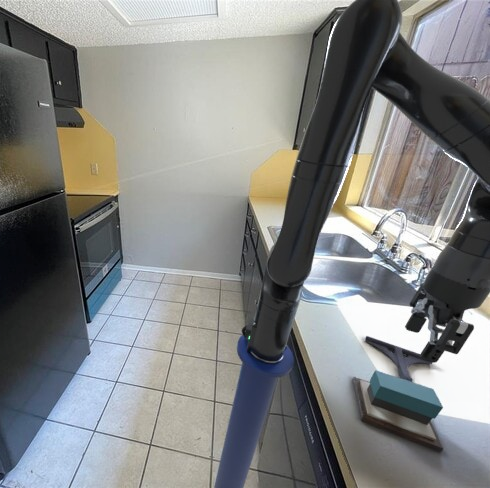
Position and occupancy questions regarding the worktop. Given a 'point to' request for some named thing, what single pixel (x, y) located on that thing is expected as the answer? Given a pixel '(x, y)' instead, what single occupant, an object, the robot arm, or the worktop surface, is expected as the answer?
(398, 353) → the bracket
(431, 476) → the worktop surface
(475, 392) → the worktop surface
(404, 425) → the board
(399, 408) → the teal angular block
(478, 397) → the worktop surface
